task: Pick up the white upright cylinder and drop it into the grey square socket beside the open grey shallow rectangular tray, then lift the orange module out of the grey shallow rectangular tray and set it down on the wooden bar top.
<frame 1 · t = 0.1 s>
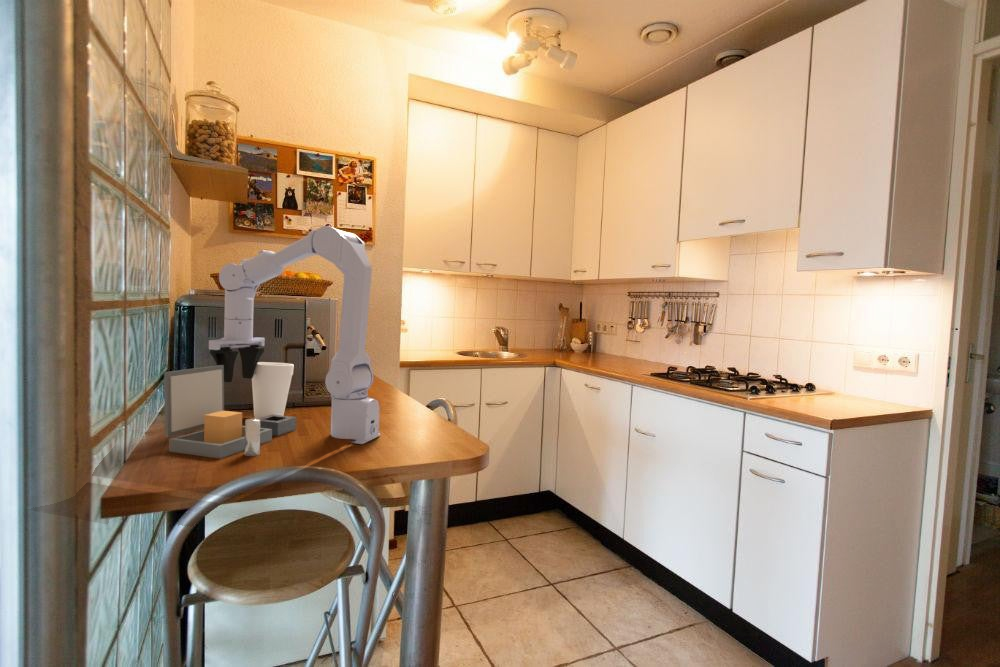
hand: (237, 379, 112), 10 cm above the breakfast bar, fingers open, 6 cm apart
white upright cylinder: (252, 458, 90), on the breakfast bar
foam cup: (268, 418, 120), on the breakfast bar, touching gripper
lid: (196, 398, 95), point 9 cm above the breakfast bar, hinge at 92.0°
module: (223, 445, 94), point 1 cm above the breakfast bar, touching grey shallow rectangular tray
grey shallow rectangular tray: (223, 449, 94), on the breakfast bar
grey square socket: (274, 434, 106), on the breakfast bar
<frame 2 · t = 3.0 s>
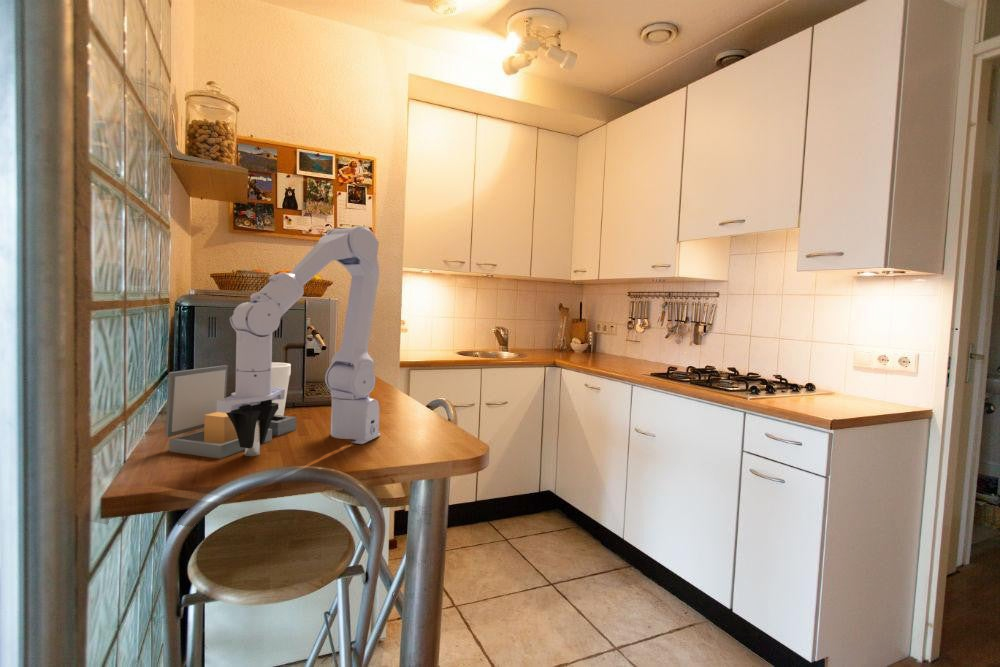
hand: (252, 445, 90), 2 cm above the breakfast bar, fingers closed on white upright cylinder, 2 cm apart
white upright cylinder: (252, 458, 90), on the breakfast bar, touching gripper
foam cup: (268, 419, 120), on the breakfast bar
lid: (198, 399, 95), point 9 cm above the breakfast bar, hinge at 87.0°
everything else where it was.
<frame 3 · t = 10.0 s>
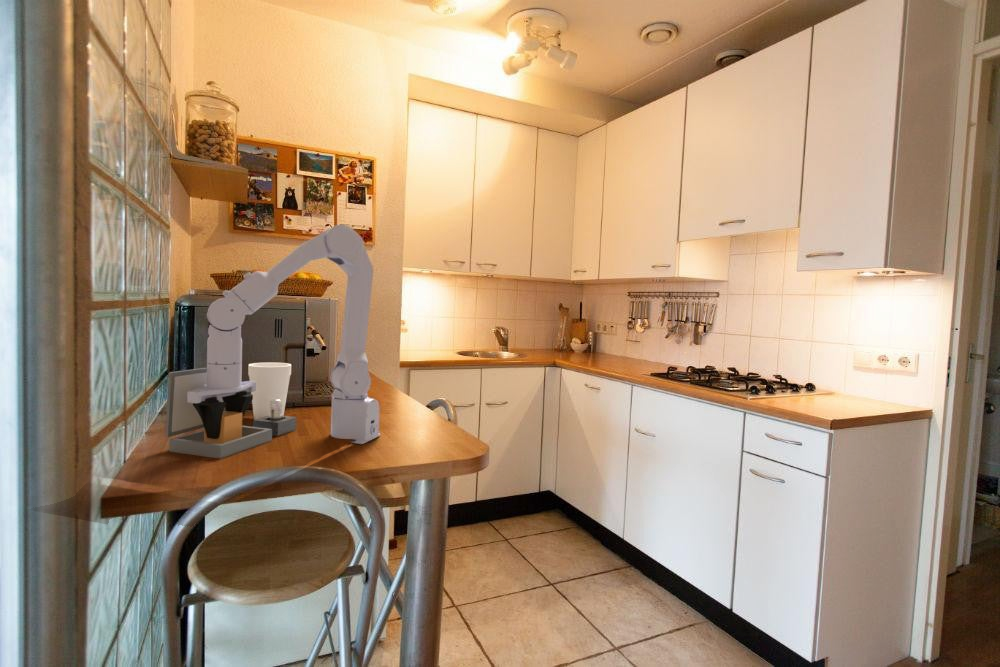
hand: (223, 434, 94), 3 cm above the breakfast bar, fingers closed on module, 4 cm apart
white upright cylinder: (275, 432, 106), point 1 cm above the breakfast bar, touching grey square socket
module: (223, 445, 94), point 1 cm above the breakfast bar, touching grey shallow rectangular tray, gripper
everything else where it was.
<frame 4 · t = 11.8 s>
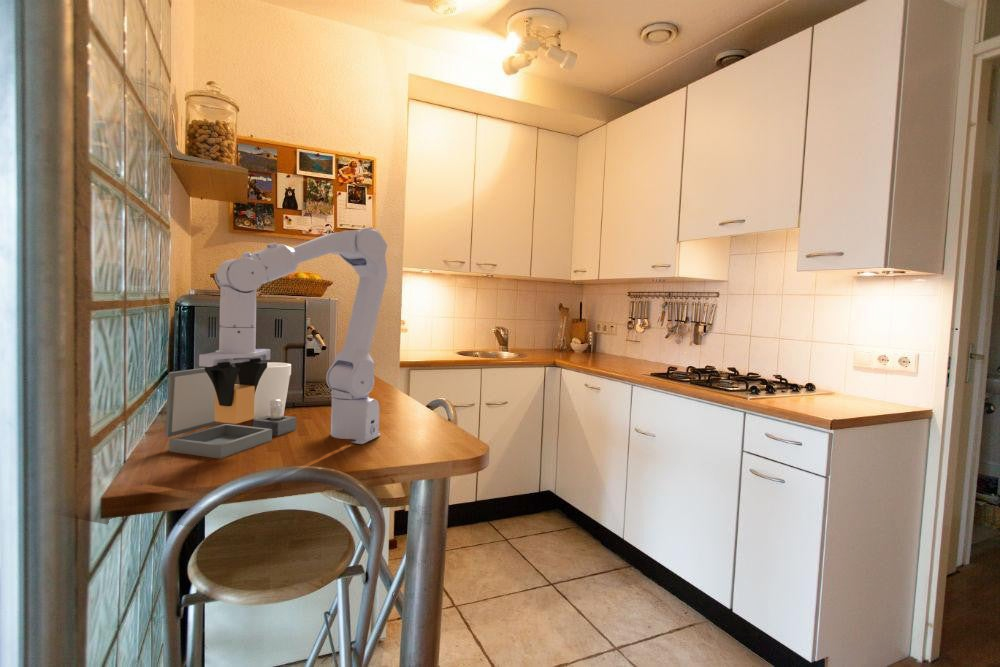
hand: (236, 403, 89), 10 cm above the breakfast bar, fingers closed on module, 4 cm apart
module: (234, 420, 90), point 7 cm above the breakfast bar, touching gripper
everything else where it was.
when the fingers open (4 cm above the breakfast bar, at t = 13.8 s): module stays where it is, on the breakfast bar.
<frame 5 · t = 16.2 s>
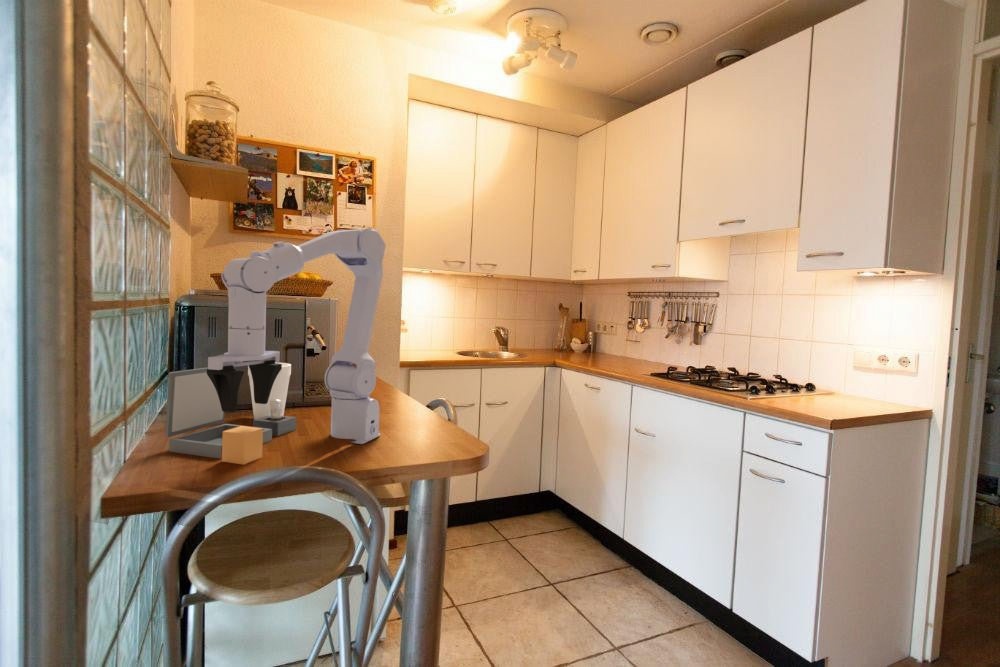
hand: (245, 407, 86), 10 cm above the breakfast bar, fingers open, 7 cm apart
module: (242, 464, 87), on the breakfast bar
everything else where it was.
at the end: white upright cylinder 0.1 cm off-centre on the grey square socket, point 0.5 cm above the grey square socket's base; module inside the target area (0.4 cm from its centre), on the breakfast bar; lid at +87° (first picture: +92°) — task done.
